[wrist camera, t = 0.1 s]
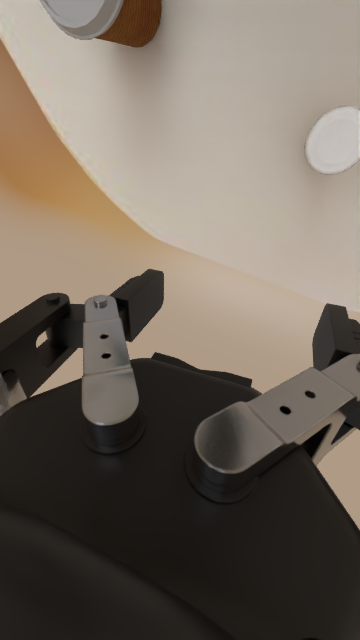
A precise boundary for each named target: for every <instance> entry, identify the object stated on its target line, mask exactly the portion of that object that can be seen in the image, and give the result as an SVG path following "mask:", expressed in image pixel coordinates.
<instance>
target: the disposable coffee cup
mask: <svg viewBox="0 0 360 640" xmlns="http://www.w3.org/2000/svg"><path fill="white" fill-rule="evenodd" d="M40 2H41V4H42V5H43V7H44V8H45V10H46V11H47V13H48V14H49V15H50V17H51V18H52V20H53V21H54V22H55V23H56V24H57V26H58V27H59V28H60V29H61V30H62V31H64V32H65V33H66V34H67V35H69V36H71V37H73V38H76V39H80V40H91V39H93V38H97V39H102V40H107V41H110V42H116V43H119V44H124V45H128V46H132V47H142V46H144V45H146V44H147V43H148V42H149V41H151V40H152V38H153V37H154V35H155V33H156V31H157V29H158V26H159V22H160V17H161V0H40Z"/></svg>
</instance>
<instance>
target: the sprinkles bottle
mask: <svg viewBox="0 0 360 640" xmlns="http://www.w3.org/2000/svg"><path fill="white" fill-rule="evenodd" d="M305 156H306V159H307V162H308V164H309V165H310V166H311V168H313V169H314V170H315V171H317V172H319V173H321V174H326V175H332V174H338V173H341V172H343V171H345V170H347V169H349V168H350V167H352V166H353V165H354V164H356V163H357V162H358V161H359V160H360V109H358V108H355V107H351V106H343V107H338V108H335V109H333V110H331V111H329V112H327V113H326V114H324V115H323V116H322V117H321V118H320V119H319V120H318V121H317V122H316V123H315V124H314V125H313V127H312V128H311V130H310V132H309V134H308V136H307V139H306V143H305Z"/></svg>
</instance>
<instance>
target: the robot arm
mask: <svg viewBox="0 0 360 640" xmlns="http://www.w3.org/2000/svg"><path fill="white" fill-rule="evenodd" d="M163 300H164V274H163V272H162V271H158V270H153V269H148V270H147V271H145V272H144V273H143V274H142V275H140V276H136V277H134V278H131V279H129V280H128V281H127V282H126V283H125V284H123V285H122V286H121V287H119V288H118V289H117V290H115V291H114V292H113V293H112V294H110V295H109V296H108V295H98V296H94V297H91V298H89V299H87V300H86V302H85V304H70V301H69V297H68V296H67V295H66V294H63V293H51V294H47V295H44V296H42V297H40V298H39V299H37V300H35V301H34V302H32V303H31V304H29V305H28V306H26V307H25V308H23V309H21V310H20V311H19V312H17V313H15V314H14V315H12V316H11V317H9V318H7V319H6V320H4V321H3V322H1V323H0V640H360V530H359V529H358V527H357V525H356V524H355V522H354V521H353V520H352V518H351V517H350V515H349V514H348V512H347V511H346V509H345V508H344V506H343V505H342V504H341V502H340V500H339V499H338V497H337V496H336V495H335V493H334V492H333V490H332V489H331V487H330V486H329V484H328V483H327V481H326V480H325V478H324V477H323V475H322V474H321V473H320V471H319V470H318V468H317V467H316V466H317V464H318V463H319V462H320V461H321V460H322V458H323V457H324V456H325V455H326V454H327V453H328V452H329V451H330V450H332V449H333V448H334V447H335V446H336V445H338V444H339V443H340V442H341V441H343V440H344V439H345V438H346V437H347V436H349V435H350V434H351V433H352V432H353V431H355V430H356V429H359V430H360V324H359V323H358V322H357V321H356V320H353V319H349V318H348V314H347V310H346V307H343V306H338V305H333V304H328V303H327V304H326V305H325V307H324V310H323V312H322V315H321V318H320V320H319V323H318V325H317V328H316V330H315V333H314V337H313V344H312V345H313V363H314V364H313V365H314V367H311V368H309V369H307V370H305V371H303V372H301V373H300V374H298V375H296V376H294V377H293V378H291V379H289V380H287V381H285V382H283V383H282V384H280V385H278V386H276V387H274V388H273V389H271V390H269V391H267V392H265V393H264V394H262V393H260V392H259V391H257V390H255V389H254V388H252V387H251V383H252V379H249V378H245V377H241V376H238V375H234V374H231V373H227V372H219V371H209V370H200V369H197V368H195V367H193V366H191V365H189V364H187V363H185V362H184V361H182V360H180V359H178V358H174V357H171V356H167V355H164V354H160V353H156V352H155V353H154V355H153V356H152V358H139V359H132V360H130V359H129V355H128V350H127V345H126V341H129V342H132V341H133V340H134V339H135V337H136V336H137V335H138V334H139V333H140V332H141V331H142V329H143V328H144V327H145V326H146V325H147V324H148V322H149V321H150V320H151V319H152V318H153V317H154V316H155V314H156V313H157V312H158V311H159V310H160V308H161V307H162V304H163ZM44 331H46V335H47V338H48V339H47V340H46V341H45V342H43V343H42V344H41V345H40V346H39V347H38V348H36V340H37V338H38V336H39V335H40V334H41V333H43V332H44ZM77 348H83V376H82V378H80V379H78V380H75V381H72V382H70V383H67V384H64V385H62V386H59V387H57V388H54V389H51V390H49V391H46V392H43V393H41V394H38V395H35V396H33V397H30V396H31V395H32V394H33V393H34V392H35V391H36V390H37V389H38V388H39V387H40V386H41V385H42V384H43V383H44V382H45V381H46V380H47V379H48V378H49V377H50V376H51V375H52V374H53V373H54V372H55V371H56V370H57V369H58V368H59V367H60V366H61V365H62V364H63V363H64V362H65V361H66V360H67V359H68V358H69V357H70V356H71V355H72V354H73V353H74V352H75V351H76V350H77ZM29 397H30V398H29Z"/></svg>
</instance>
